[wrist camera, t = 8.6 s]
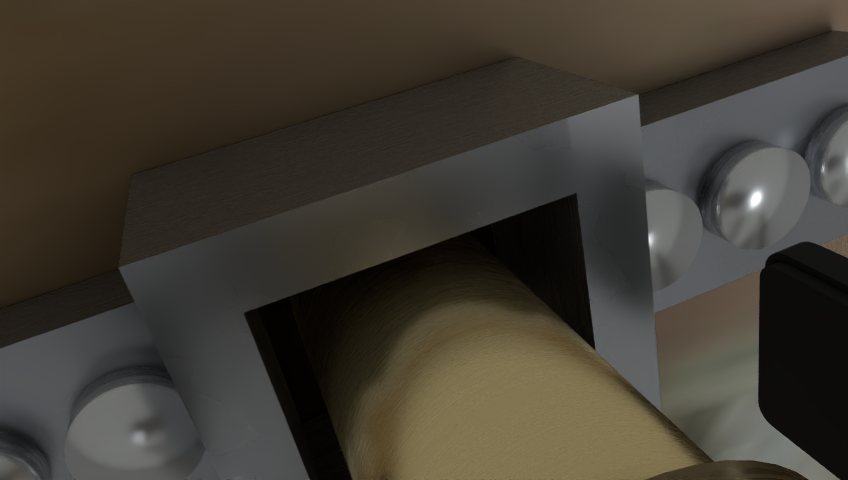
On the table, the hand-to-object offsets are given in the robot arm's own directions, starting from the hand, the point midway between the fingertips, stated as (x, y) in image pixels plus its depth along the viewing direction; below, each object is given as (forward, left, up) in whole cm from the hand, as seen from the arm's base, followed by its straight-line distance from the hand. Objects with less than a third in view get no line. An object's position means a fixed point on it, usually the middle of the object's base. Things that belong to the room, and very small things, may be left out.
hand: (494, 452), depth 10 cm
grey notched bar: (0, 0, -6) cm, 6 cm away
